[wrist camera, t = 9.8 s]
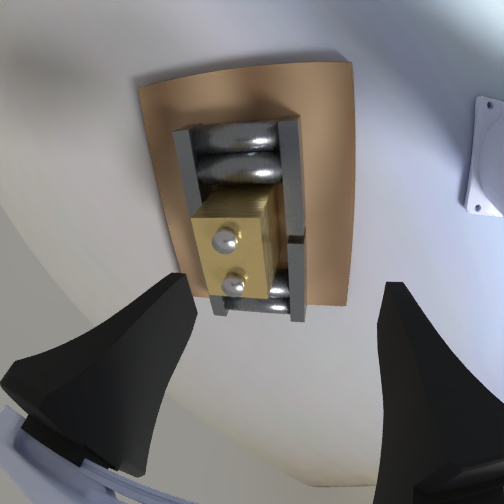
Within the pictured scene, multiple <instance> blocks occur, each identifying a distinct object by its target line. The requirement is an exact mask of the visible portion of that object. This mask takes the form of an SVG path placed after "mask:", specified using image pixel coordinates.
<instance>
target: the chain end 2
mask: <svg viewBox="0 0 504 504" xmlns="http://www.w3.org/2000/svg"><path fill="white" fill-rule="evenodd" d="M196 246H197V244H196ZM197 250H198V248H197ZM287 252H288V269H276V272H275V276H274V279H273V283H272V287H271V290H270V294H269V298H268V299H260V298H245V297H230V296H219V295H209V298H210V302H211V305H212V309H213V313H214V315H219V316H227V313H228V311H229V310H238V311H250V312H263V313H278V314H290V316H291V321H293V322H305V314H306V307H307V240H306V228H305V229H304V235H289V238H288V242H287ZM198 254H199V252H198ZM199 258H200V256H199ZM200 262H201V260H200ZM201 266H202V264H201ZM202 270H203V268H202ZM203 274H204V273H203ZM204 278H205V276H204ZM205 282H206V280H205ZM206 286H207V284H206ZM207 290H208V288H207ZM208 294H209V292H208Z"/></svg>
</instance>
